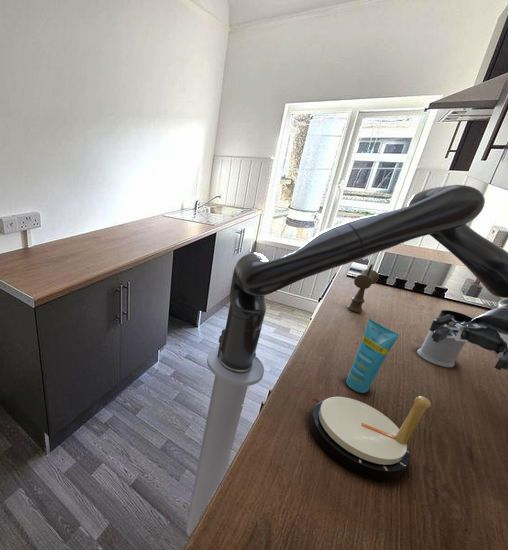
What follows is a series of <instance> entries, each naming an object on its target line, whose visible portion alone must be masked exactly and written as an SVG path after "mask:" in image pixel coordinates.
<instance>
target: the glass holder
mask: <svg viewBox="0 0 508 550" xmlns="http://www.w3.org/2000/svg"><path fill="white" fill-rule="evenodd" d="M445 315H452V316H454V320H455V321H458V322H460V323H463V322H470V321H471V320H473V319H474V318H475V317H473V316H470V315H467V314H464V313H461V312H458V311H454V310H450V309H449V310H448V309H443V310H441V311H440V313H439V314H438V316H437V318H439V317H442V316H445ZM452 331H453V330H450V331H449V333H452ZM432 334H433V332H432V331H430V330H429V332H428V334H427V336H426V337H425V339H424V341H423V343H422V345H421V347H420V348H418V349H417V351H416V353H417V354H418V355H419V356H420V358H421V359H424V360H426V361H427V362H429V363H431V364H434V365H437V366H440V367H443V368H453V367H455V365H456V364H455V361H456V359H457V358H458V356H459V355H460V353H461V352H462V349H463V347H464V346H465V344H466V342H462V341H455V340H454V339H453V338H446V339H444V340H442V341H440V342H438V343H437V342H434V341H433V338H431V336H432ZM461 336H463V335H461Z"/></svg>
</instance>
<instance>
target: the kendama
mask: <svg viewBox="0 0 508 550" xmlns="http://www.w3.org/2000/svg"><path fill="white" fill-rule="evenodd" d="M373 266H374V264H373V263H371V264H370V265H369V267H368V268H367V269H364V270H362V271H361V273H360V274H358V275H356V276H355V278H354V280H353V283H354V286H355V287H357V288H358V291H357V292H356V293H355V295H354V296H353V297H351V303H350V304H348V305H347V309H348V310H349V311H351V312H355V313H362V312H363V308H362V307H363V304H364V303H365V302H366V301H365V299H364V297H365V290H368V289H369V288H371V286H372V285H375V284H376V283H377V282H378V281H379V279H380V278H379V277H380V275H379V272H377V271H376V270H374V269H373Z"/></svg>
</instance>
